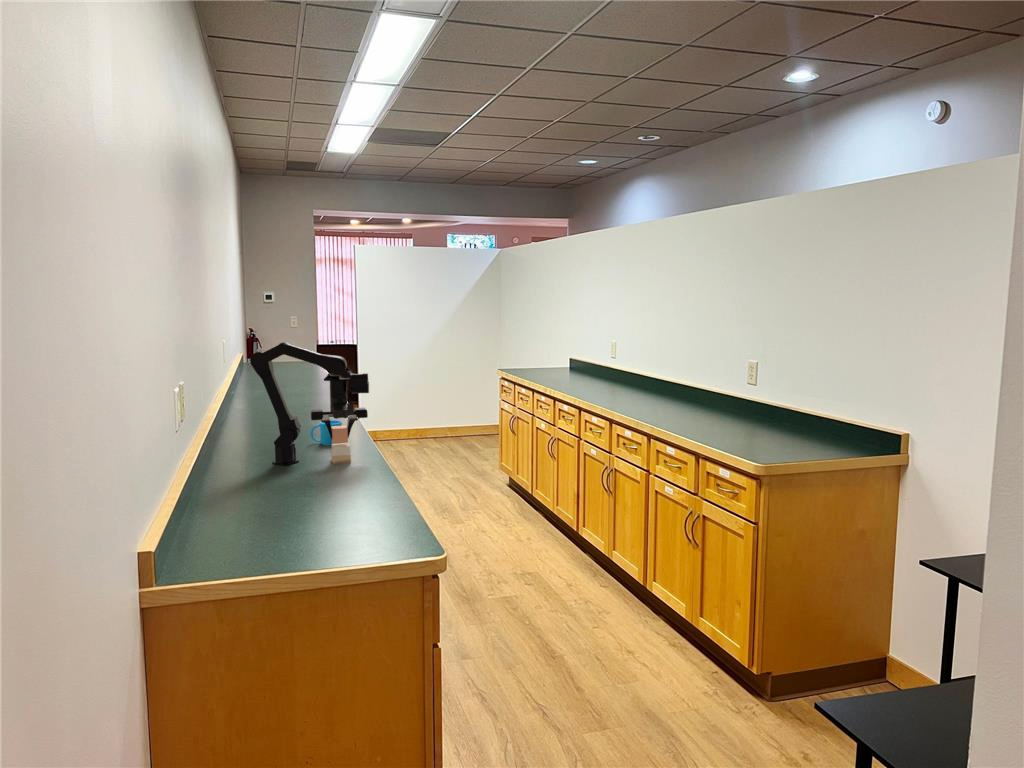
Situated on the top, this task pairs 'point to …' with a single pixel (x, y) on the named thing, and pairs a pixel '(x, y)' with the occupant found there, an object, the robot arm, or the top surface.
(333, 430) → the coral cube
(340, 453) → the slab upper
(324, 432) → the mug
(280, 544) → the top surface
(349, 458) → the slab lower
